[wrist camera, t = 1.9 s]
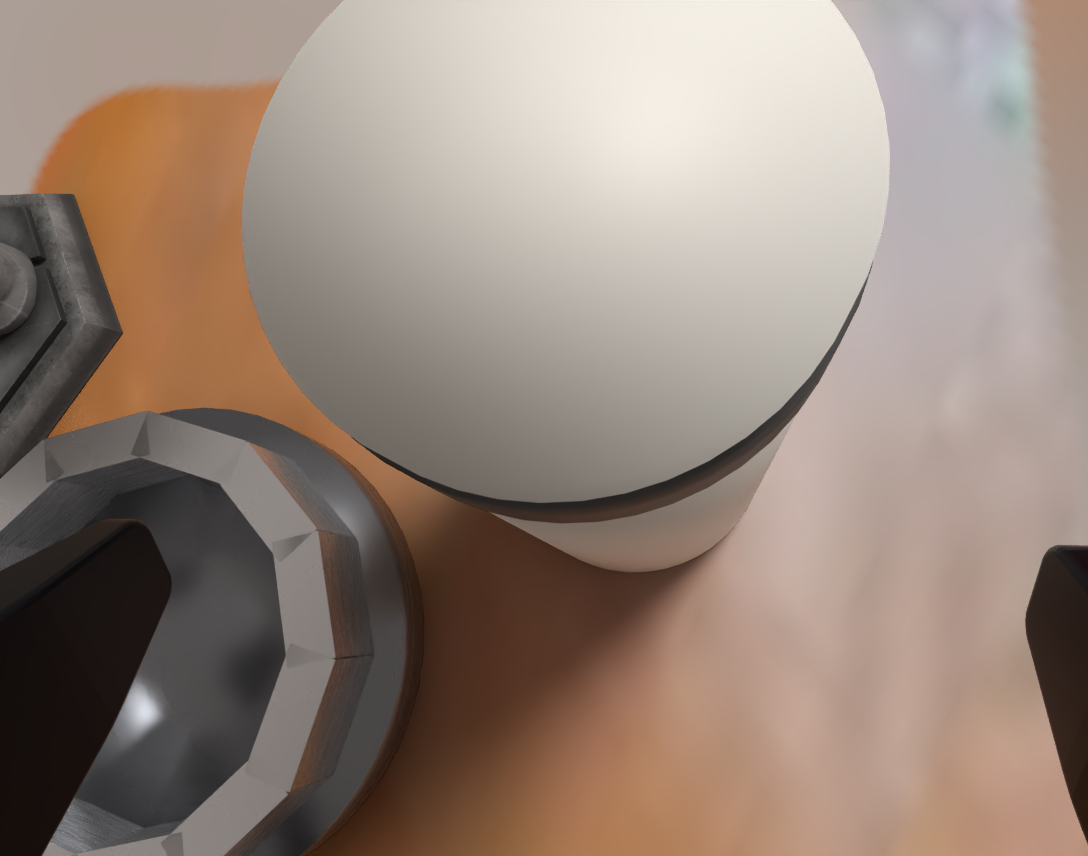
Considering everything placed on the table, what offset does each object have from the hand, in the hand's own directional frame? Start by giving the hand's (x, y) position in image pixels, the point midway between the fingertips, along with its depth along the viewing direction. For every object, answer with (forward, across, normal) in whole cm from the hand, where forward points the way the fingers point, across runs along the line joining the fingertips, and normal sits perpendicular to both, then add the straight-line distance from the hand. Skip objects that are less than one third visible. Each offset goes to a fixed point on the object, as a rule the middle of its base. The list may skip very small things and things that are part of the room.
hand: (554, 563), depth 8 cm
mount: (+6, +10, +8) cm, 15 cm away
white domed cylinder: (+10, 0, +5) cm, 11 cm away
